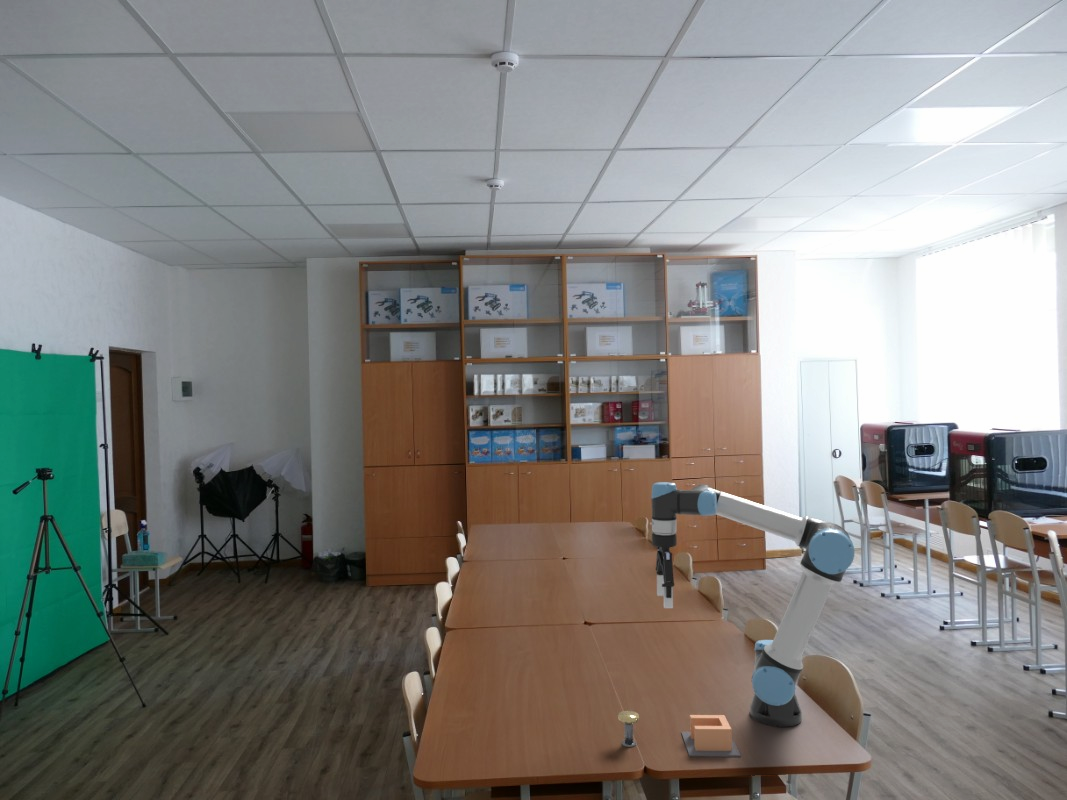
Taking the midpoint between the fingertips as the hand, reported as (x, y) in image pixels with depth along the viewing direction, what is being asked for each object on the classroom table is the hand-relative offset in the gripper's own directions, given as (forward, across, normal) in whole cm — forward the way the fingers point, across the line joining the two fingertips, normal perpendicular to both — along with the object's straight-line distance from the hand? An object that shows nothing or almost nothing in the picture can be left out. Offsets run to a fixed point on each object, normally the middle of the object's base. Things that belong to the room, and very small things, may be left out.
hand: (664, 601), depth 220 cm
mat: (+36, +16, +10) cm, 41 cm away
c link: (+36, +16, +10) cm, 41 cm away
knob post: (+36, +16, -13) cm, 42 cm away
